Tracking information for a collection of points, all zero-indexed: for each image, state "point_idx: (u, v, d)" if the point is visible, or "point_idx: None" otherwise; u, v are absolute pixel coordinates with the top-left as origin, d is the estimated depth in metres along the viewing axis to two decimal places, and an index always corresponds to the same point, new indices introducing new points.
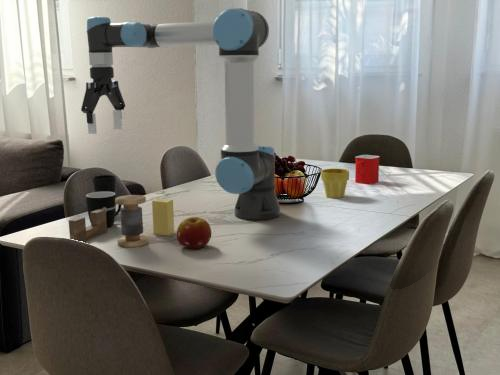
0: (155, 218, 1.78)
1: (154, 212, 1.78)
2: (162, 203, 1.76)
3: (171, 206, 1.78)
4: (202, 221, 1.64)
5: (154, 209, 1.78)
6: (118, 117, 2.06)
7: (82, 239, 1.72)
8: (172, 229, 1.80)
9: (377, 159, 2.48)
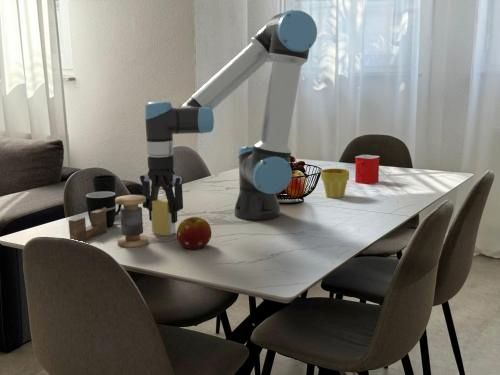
0: (155, 218, 1.78)
1: (154, 212, 1.78)
2: (162, 203, 1.76)
3: None
4: (202, 221, 1.64)
5: (154, 209, 1.78)
6: None
7: (82, 239, 1.72)
8: None
9: (377, 159, 2.48)
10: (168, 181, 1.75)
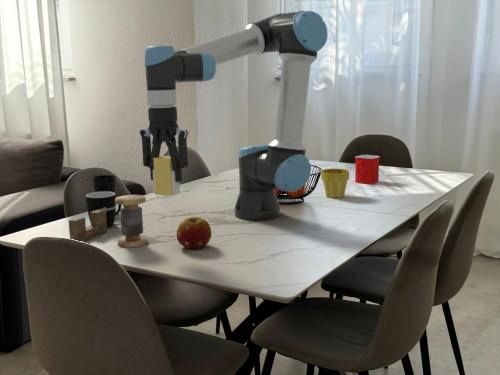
0: (157, 177, 1.61)
1: (156, 170, 1.61)
2: (164, 160, 1.59)
3: None
4: (202, 221, 1.64)
5: (156, 167, 1.61)
6: None
7: (82, 239, 1.72)
8: None
9: (377, 159, 2.48)
10: (171, 135, 1.58)
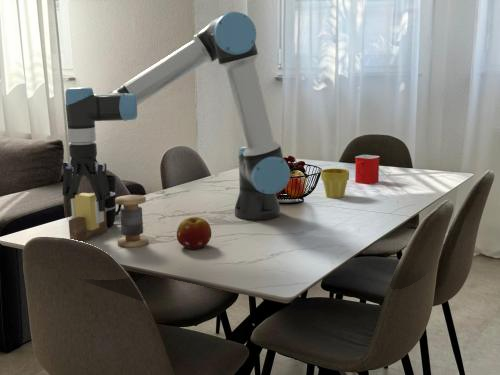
0: (78, 213, 1.74)
1: (77, 206, 1.73)
2: (85, 197, 1.72)
3: (95, 200, 1.74)
4: (202, 221, 1.64)
5: (77, 203, 1.73)
6: None
7: (82, 239, 1.72)
8: (97, 224, 1.75)
9: (377, 159, 2.48)
10: (90, 169, 1.70)
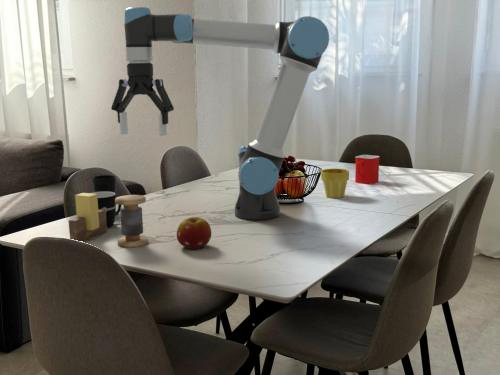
0: (78, 213, 1.74)
1: (77, 206, 1.73)
2: (85, 197, 1.72)
3: (95, 200, 1.74)
4: (202, 221, 1.64)
5: (77, 203, 1.73)
6: None
7: (82, 239, 1.72)
8: (97, 224, 1.75)
9: (377, 159, 2.48)
10: (147, 88, 1.76)
